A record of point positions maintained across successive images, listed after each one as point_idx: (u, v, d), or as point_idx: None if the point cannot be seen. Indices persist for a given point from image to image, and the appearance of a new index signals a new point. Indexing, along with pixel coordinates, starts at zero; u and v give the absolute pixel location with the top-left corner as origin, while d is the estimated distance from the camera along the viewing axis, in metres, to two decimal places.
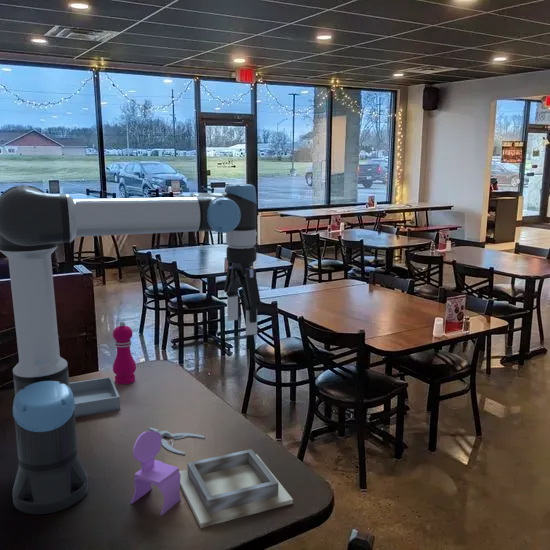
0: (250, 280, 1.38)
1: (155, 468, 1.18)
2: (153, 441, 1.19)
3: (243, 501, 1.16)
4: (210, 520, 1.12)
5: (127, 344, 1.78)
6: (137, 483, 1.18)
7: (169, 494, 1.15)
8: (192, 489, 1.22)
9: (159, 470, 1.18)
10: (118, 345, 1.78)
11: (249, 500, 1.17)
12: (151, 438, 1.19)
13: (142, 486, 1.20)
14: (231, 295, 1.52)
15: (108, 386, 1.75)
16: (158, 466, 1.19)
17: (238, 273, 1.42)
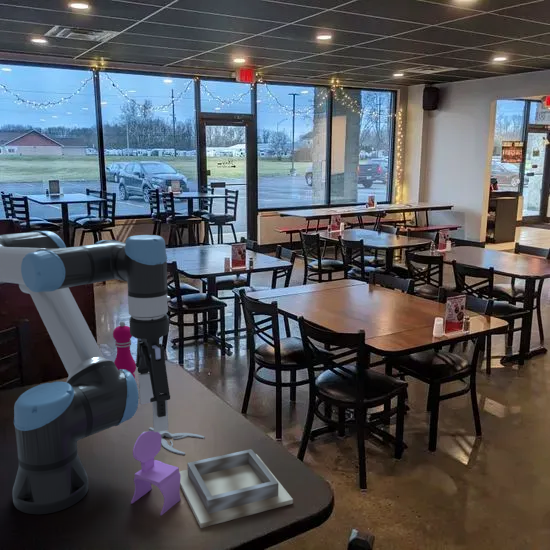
0: (156, 363, 1.06)
1: (155, 468, 1.18)
2: (153, 441, 1.19)
3: (243, 501, 1.16)
4: (210, 520, 1.12)
5: (127, 344, 1.78)
6: (137, 483, 1.18)
7: (169, 494, 1.15)
8: (192, 489, 1.22)
9: (159, 470, 1.18)
10: (118, 345, 1.78)
11: (249, 500, 1.17)
12: (151, 438, 1.19)
13: (142, 486, 1.20)
14: (143, 372, 1.20)
15: None
16: (158, 466, 1.19)
17: (144, 351, 1.09)
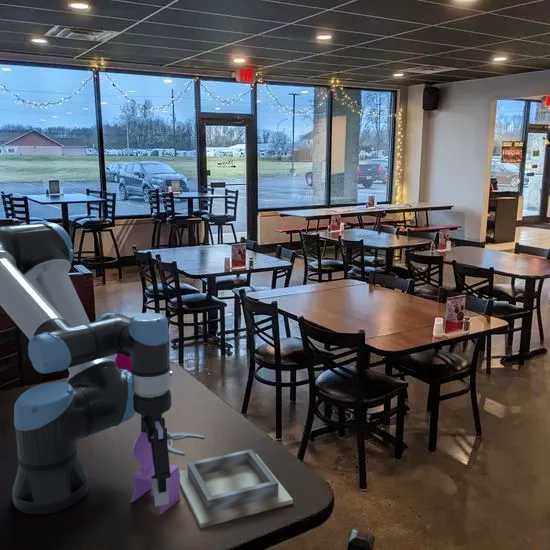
0: (158, 443, 1.09)
1: None
2: None
3: (243, 501, 1.16)
4: (210, 520, 1.12)
5: None
6: (137, 482, 1.18)
7: (168, 493, 1.16)
8: (192, 489, 1.22)
9: None
10: None
11: (249, 500, 1.17)
12: (151, 437, 1.19)
13: (142, 485, 1.20)
14: None
15: None
16: None
17: (147, 427, 1.13)
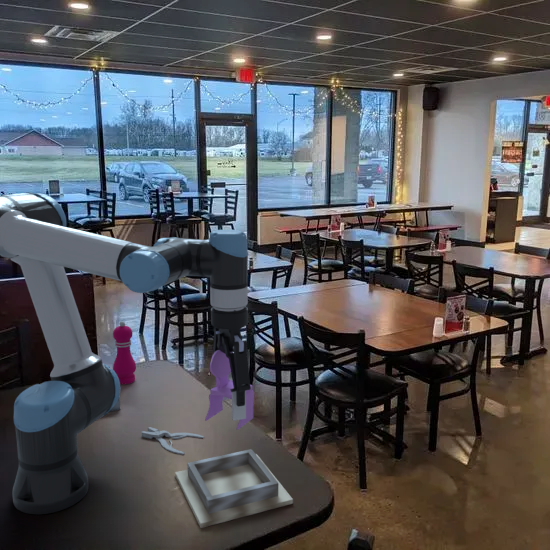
0: (239, 355, 1.11)
1: (229, 385, 1.20)
2: (227, 359, 1.21)
3: (243, 501, 1.16)
4: (210, 520, 1.12)
5: (127, 344, 1.79)
6: (211, 400, 1.20)
7: None
8: (192, 489, 1.22)
9: (233, 387, 1.19)
10: (118, 345, 1.78)
11: (249, 500, 1.17)
12: (225, 356, 1.20)
13: (215, 404, 1.22)
14: None
15: None
16: (231, 384, 1.21)
17: (225, 342, 1.14)
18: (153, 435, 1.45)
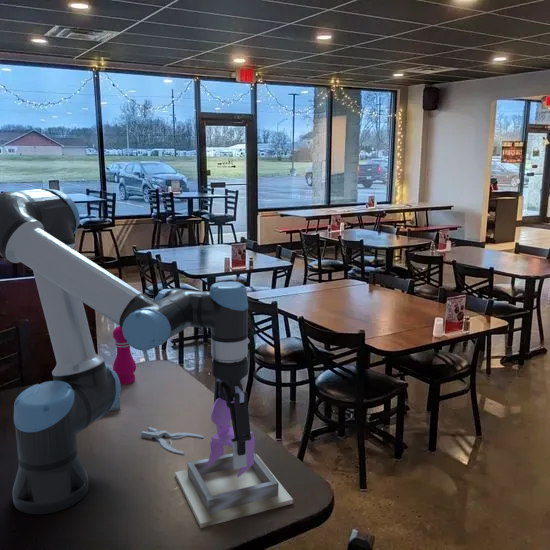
0: (240, 406, 1.13)
1: (230, 432, 1.22)
2: None
3: (243, 501, 1.16)
4: (210, 520, 1.12)
5: (127, 344, 1.78)
6: (213, 447, 1.22)
7: None
8: (192, 489, 1.22)
9: None
10: (118, 345, 1.78)
11: (249, 500, 1.17)
12: None
13: (216, 450, 1.24)
14: None
15: None
16: (232, 431, 1.23)
17: (226, 392, 1.16)
18: (153, 435, 1.45)
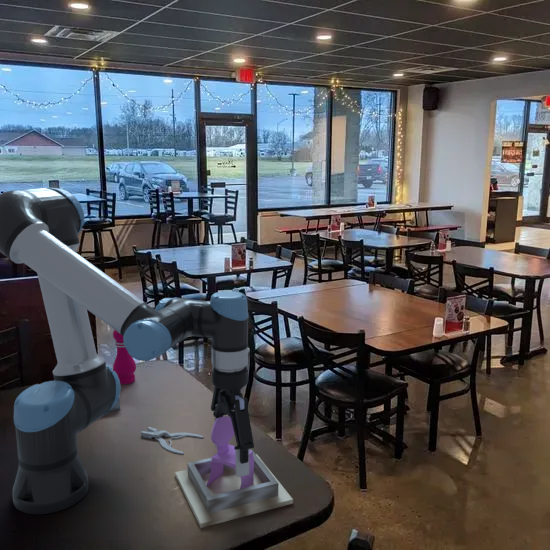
0: (240, 413, 1.13)
1: (230, 452, 1.23)
2: (227, 426, 1.24)
3: (243, 501, 1.16)
4: (210, 520, 1.12)
5: None
6: (213, 466, 1.22)
7: (245, 477, 1.20)
8: (192, 489, 1.22)
9: (234, 454, 1.22)
10: (118, 345, 1.78)
11: (249, 500, 1.17)
12: (226, 423, 1.23)
13: (216, 469, 1.24)
14: (219, 416, 1.27)
15: None
16: (232, 450, 1.24)
17: (226, 400, 1.17)
18: (152, 435, 1.45)
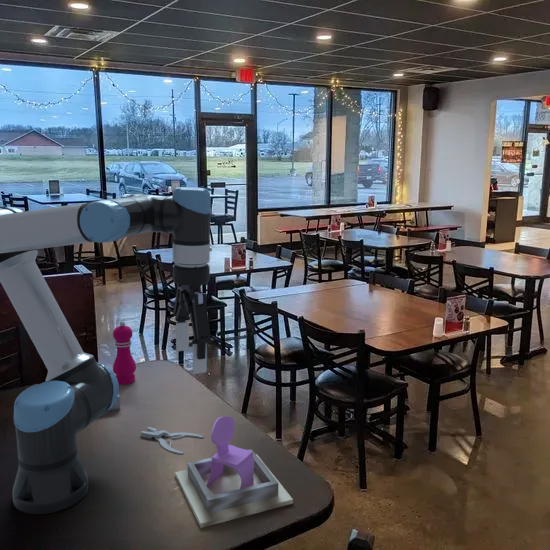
0: (198, 307, 1.11)
1: (230, 452, 1.23)
2: (227, 426, 1.24)
3: (243, 501, 1.16)
4: (210, 520, 1.12)
5: (127, 344, 1.78)
6: (213, 466, 1.22)
7: (245, 477, 1.20)
8: (192, 489, 1.22)
9: (234, 454, 1.22)
10: (118, 345, 1.78)
11: (249, 500, 1.17)
12: (226, 423, 1.23)
13: (216, 469, 1.24)
14: (181, 321, 1.26)
15: None
16: (232, 450, 1.24)
17: (186, 297, 1.15)
18: (152, 435, 1.45)
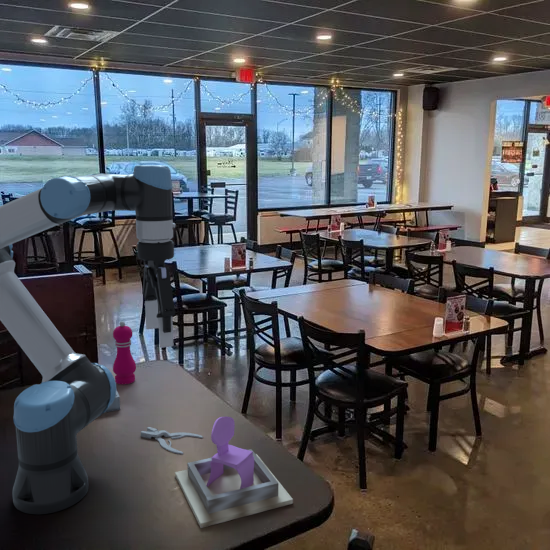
0: (162, 281, 1.13)
1: (230, 452, 1.23)
2: (227, 426, 1.24)
3: (243, 501, 1.16)
4: (210, 520, 1.12)
5: (127, 344, 1.78)
6: (213, 466, 1.22)
7: (245, 477, 1.20)
8: (192, 489, 1.22)
9: (234, 454, 1.22)
10: (118, 345, 1.78)
11: (249, 500, 1.17)
12: (226, 423, 1.23)
13: (216, 469, 1.24)
14: (150, 299, 1.28)
15: None
16: (232, 450, 1.24)
17: (151, 273, 1.17)
18: (152, 435, 1.45)
